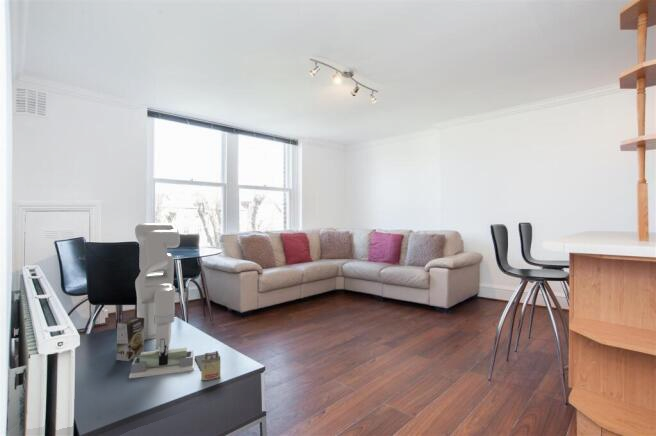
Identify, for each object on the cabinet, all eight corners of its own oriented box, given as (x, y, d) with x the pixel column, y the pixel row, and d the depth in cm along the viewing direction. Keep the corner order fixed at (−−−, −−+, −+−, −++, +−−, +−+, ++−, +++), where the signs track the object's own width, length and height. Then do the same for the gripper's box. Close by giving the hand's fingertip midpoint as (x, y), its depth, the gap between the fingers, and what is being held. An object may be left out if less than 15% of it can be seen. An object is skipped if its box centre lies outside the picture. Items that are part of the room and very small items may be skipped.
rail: (141, 364, 138) (141, 352, 138) (186, 359, 144) (186, 347, 144) (139, 368, 135) (139, 355, 135) (186, 362, 140) (186, 350, 140)
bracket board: (134, 366, 141) (134, 355, 140) (194, 358, 148) (194, 348, 148) (129, 378, 130) (129, 366, 130) (193, 370, 138) (193, 359, 138)
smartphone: (200, 370, 137) (193, 356, 150) (200, 372, 137) (193, 358, 150) (218, 366, 140) (210, 353, 153) (218, 368, 141) (210, 355, 153)
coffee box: (128, 361, 145) (129, 324, 144) (116, 360, 146) (116, 322, 146) (144, 353, 154) (144, 317, 153) (132, 351, 155) (132, 316, 155)
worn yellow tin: (201, 382, 128) (202, 356, 128) (200, 377, 132) (200, 352, 131) (221, 378, 132) (221, 352, 132) (219, 374, 135) (219, 349, 135)
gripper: (156, 313, 145) (156, 355, 146) (151, 325, 130) (150, 373, 130) (176, 311, 148) (175, 353, 148) (172, 323, 132) (172, 370, 133)
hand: (163, 362), depth 139 cm, fingers closed on rail, 3 cm apart
